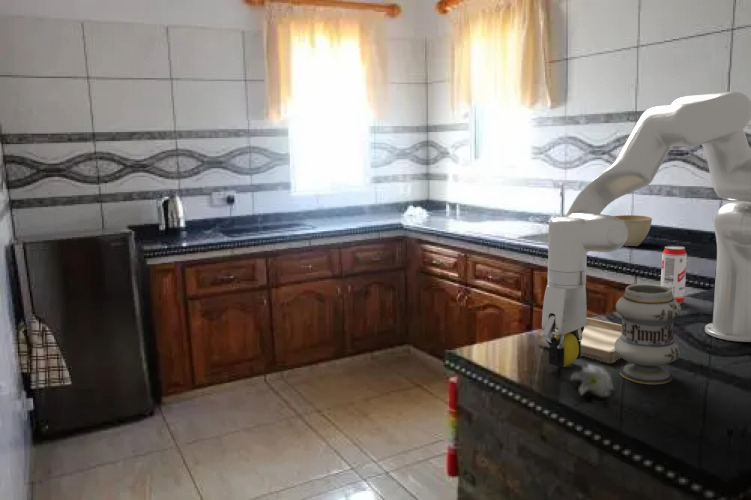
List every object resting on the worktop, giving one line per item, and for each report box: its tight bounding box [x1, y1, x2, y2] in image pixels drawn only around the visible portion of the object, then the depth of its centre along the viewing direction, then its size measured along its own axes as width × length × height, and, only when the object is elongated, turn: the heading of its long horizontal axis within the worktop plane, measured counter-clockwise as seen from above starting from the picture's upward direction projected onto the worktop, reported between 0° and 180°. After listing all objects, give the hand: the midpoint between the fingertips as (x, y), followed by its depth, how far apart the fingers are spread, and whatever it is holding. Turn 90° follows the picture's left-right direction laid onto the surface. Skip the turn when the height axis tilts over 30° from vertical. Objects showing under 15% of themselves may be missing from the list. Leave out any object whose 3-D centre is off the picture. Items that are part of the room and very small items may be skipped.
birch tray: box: [537, 316, 622, 364], centre depth 144 cm, size 20×18×2 cm
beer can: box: [660, 245, 688, 305], centre depth 176 cm, size 6×6×16 cm
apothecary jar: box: [614, 283, 682, 385], centre depth 123 cm, size 12×12×18 cm
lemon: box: [555, 333, 579, 368], centre depth 130 cm, size 6×6×8 cm
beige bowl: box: [613, 214, 653, 247], centre depth 268 cm, size 18×18×12 cm
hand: (564, 360), depth 130 cm, fingers closed on lemon, 5 cm apart
